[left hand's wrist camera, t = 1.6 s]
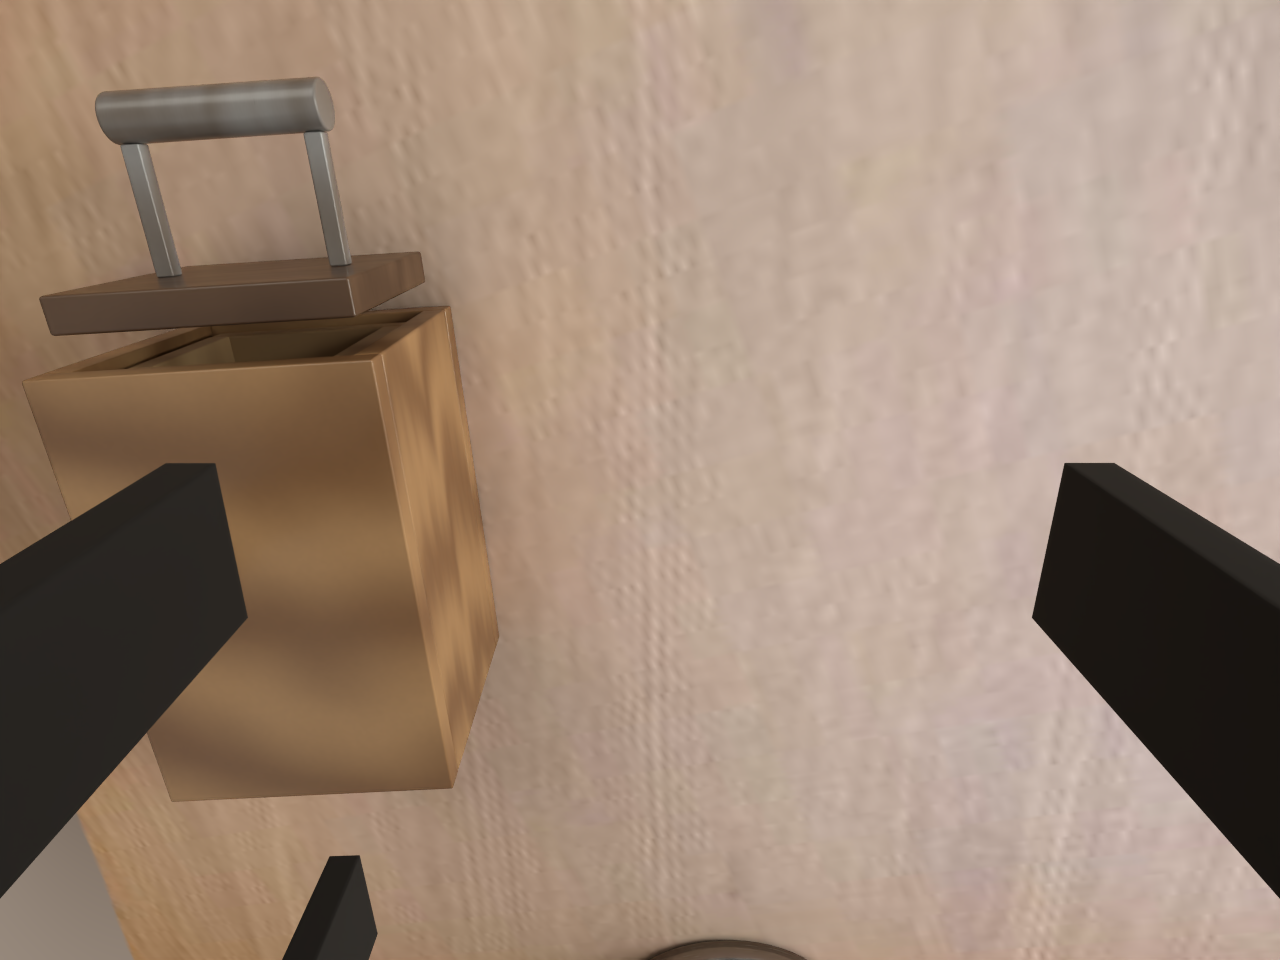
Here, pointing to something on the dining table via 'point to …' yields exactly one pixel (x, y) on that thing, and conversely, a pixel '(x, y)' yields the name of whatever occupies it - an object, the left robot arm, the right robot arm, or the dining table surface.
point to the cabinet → (308, 550)
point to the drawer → (239, 286)
